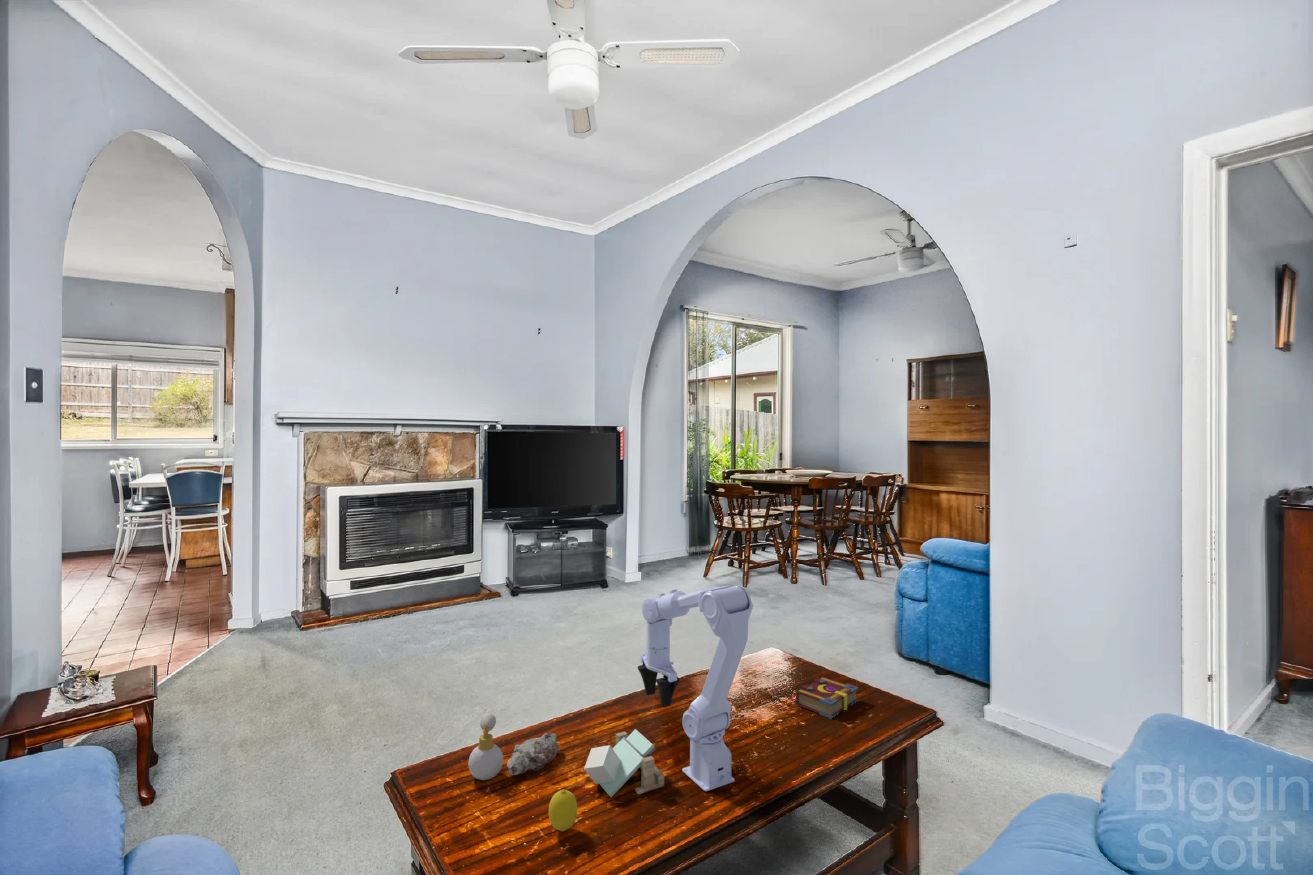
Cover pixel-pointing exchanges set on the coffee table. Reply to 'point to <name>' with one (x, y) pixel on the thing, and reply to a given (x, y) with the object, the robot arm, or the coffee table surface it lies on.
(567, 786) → the coffee table surface
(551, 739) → the mineral rock
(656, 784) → the frame
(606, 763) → the white cube
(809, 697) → the decorative book
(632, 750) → the trapdoor
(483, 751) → the perfume bottle
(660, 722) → the coffee table surface
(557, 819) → the lemon
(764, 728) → the coffee table surface
